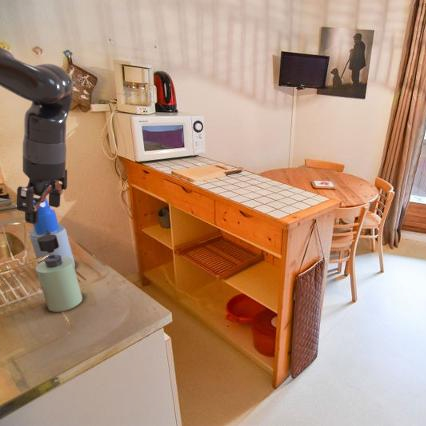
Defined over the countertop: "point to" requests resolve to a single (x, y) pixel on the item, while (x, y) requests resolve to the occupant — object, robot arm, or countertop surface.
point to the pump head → (48, 242)
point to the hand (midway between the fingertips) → (43, 214)
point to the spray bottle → (50, 223)
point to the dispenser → (59, 283)
